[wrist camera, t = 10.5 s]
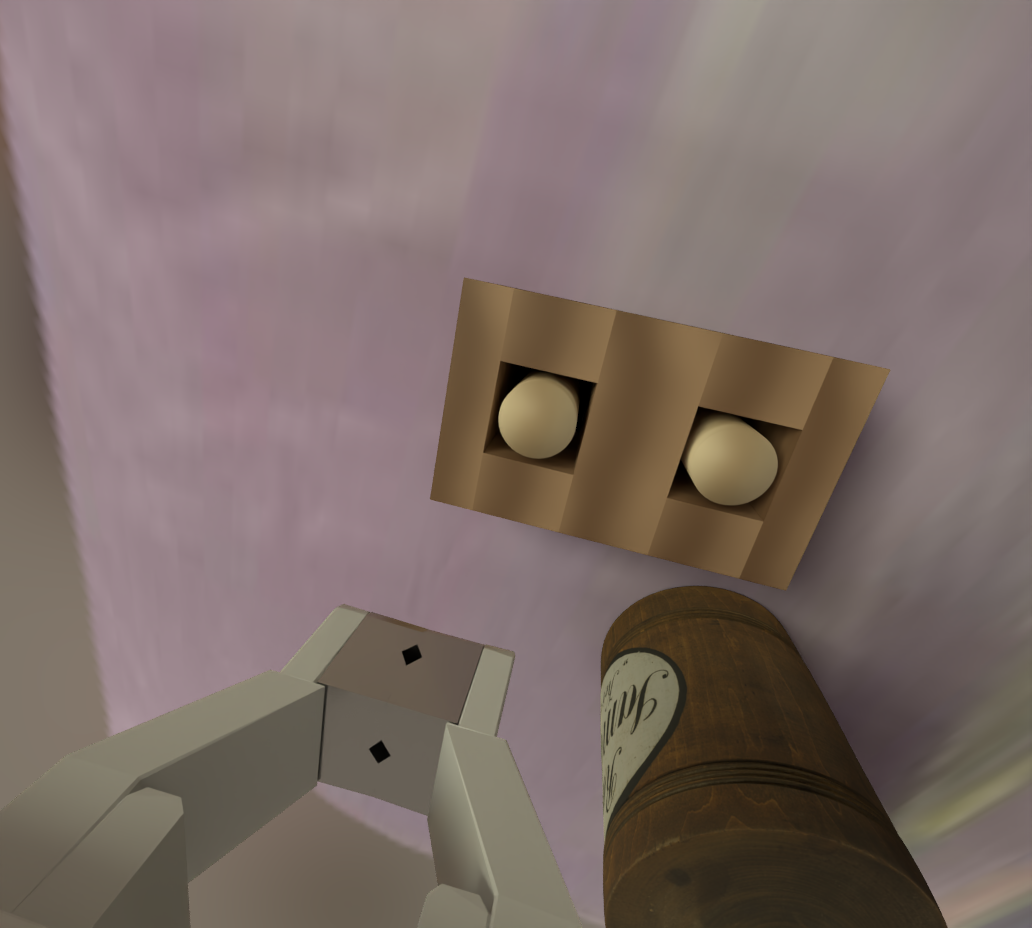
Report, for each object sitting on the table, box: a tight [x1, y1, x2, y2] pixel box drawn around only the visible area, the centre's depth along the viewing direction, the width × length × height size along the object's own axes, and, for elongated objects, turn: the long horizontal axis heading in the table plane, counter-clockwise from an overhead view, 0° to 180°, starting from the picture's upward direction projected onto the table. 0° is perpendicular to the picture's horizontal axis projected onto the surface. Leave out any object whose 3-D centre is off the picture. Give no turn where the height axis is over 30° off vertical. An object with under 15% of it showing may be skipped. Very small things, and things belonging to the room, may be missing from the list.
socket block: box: [430, 278, 890, 590], centre depth 28 cm, size 20×12×9 cm, turn 78°
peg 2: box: [680, 406, 778, 505], centre depth 27 cm, size 4×4×8 cm
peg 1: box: [499, 369, 581, 459], centre depth 28 cm, size 4×4×8 cm
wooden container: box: [601, 586, 947, 928], centre depth 28 cm, size 15×15×22 cm
